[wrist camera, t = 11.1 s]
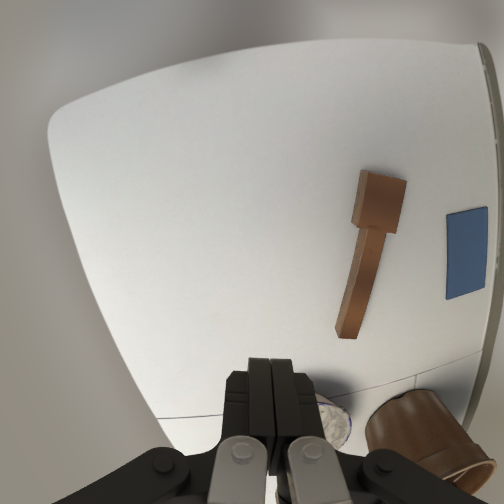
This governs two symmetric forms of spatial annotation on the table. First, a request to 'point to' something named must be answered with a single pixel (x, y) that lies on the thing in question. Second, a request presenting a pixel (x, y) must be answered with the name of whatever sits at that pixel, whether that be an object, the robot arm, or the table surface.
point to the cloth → (466, 251)
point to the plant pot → (430, 440)
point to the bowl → (334, 422)
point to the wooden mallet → (368, 244)
